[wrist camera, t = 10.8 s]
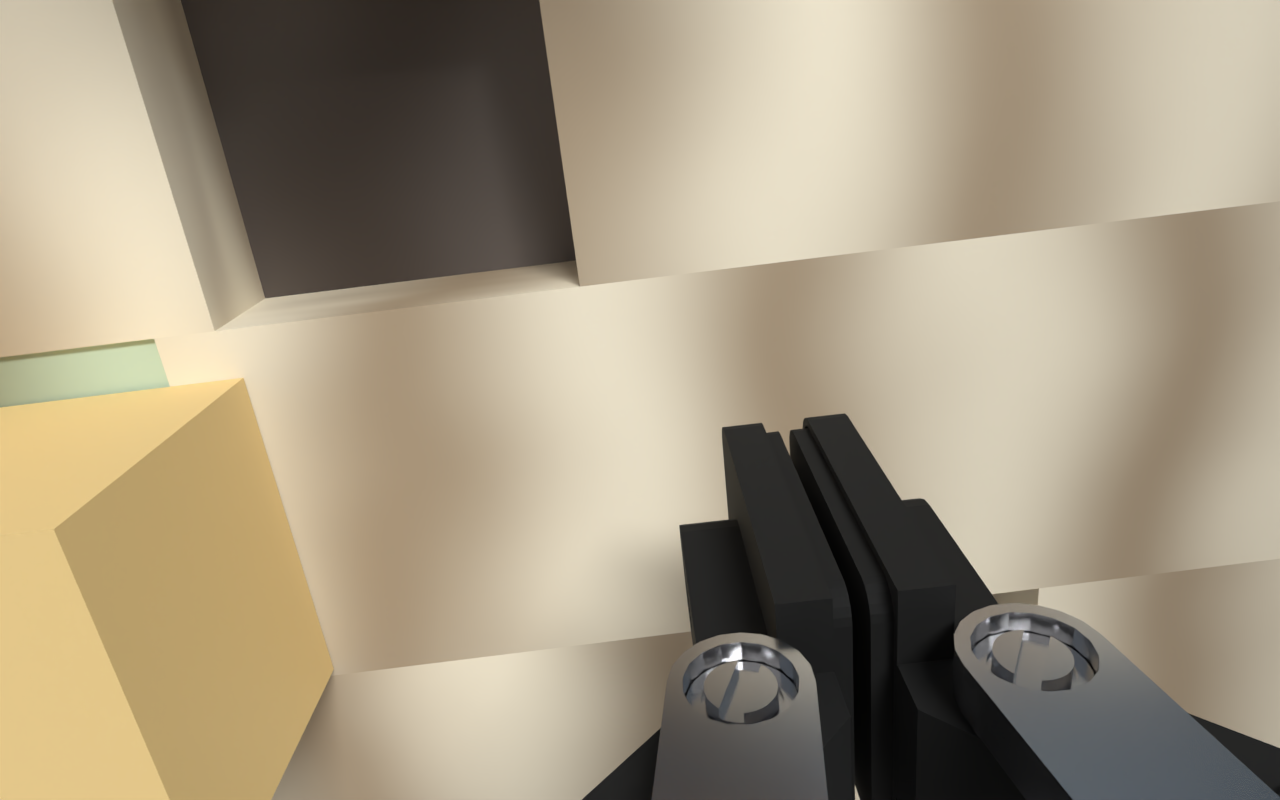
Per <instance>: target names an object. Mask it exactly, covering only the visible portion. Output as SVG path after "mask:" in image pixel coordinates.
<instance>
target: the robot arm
mask: <svg viewBox="0 0 1280 800" xmlns="http://www.w3.org/2000/svg"><path fill="white" fill-rule="evenodd" d="M722 445H723V457H724V470H725V482H726V494H727V507H728V520H719V521H710V522H702V523H693V524H684V525H679V529H680V539H681V549H682V558H683V567H684V576H685V585H686V594H687V603H688V611H689V619H690V628H691V635H692V643H693V646H692V647H691V648H689V649H688V650H686V651H684V652H683V653H682V655H681V656H680V657H679V658H678V659H677V660H676V662H675V663H674V664H673V665H672V667H671V670H670V673H669V676H668V679H667V683H666V690H665V698H664V706H663V714H662V722H661V728H660V729H659V730H658V731H657V732H656V733H654V734H653V735H652V736H651V737H650V738H649V739H648V740H647V741H646V742H645V743H643V744H642V745H641V746H640V747H639V748H638V749H637V750H636V751H635V752H634V753H632V754H631V755H630V756H629V757H628V758H627V759H626V760H625V761H624V762H623V763H621V764H620V765H619V766H618V767H617V768H616V769H615V770H614V771H613V772H612V773H610V774H609V775H608V776H607V777H606V778H605V779H604V780H603V781H602V782H601V783H599V784H598V785H597V786H596V787H595V788H594V789H593V790H592V791H591V792H590V793H588V794H587V795H586V796H585V797H584V798H583V799H582V800H855V786H856V789H857V792H858V795H859V798H860V800H1280V748H1278V747H1276V746H1273V745H1270V744H1268V743H1265V742H1263V741H1260V740H1257V739H1255V738H1252V737H1249V736H1247V735H1244V734H1242V733H1239V732H1236V731H1234V730H1231V729H1228V728H1226V727H1223V726H1221V725H1218V724H1215V723H1213V722H1210V721H1207V720H1205V719H1202V718H1200V717H1197V716H1194V715H1192V714H1189V713H1187V712H1186V711H1185V710H1184V709H1183V708H1182V707H1181V706H1179V705H1178V704H1177V703H1176V702H1175V701H1174V700H1173V699H1172V698H1171V697H1170V696H1168V695H1167V694H1166V693H1165V692H1164V691H1163V690H1162V689H1161V688H1160V687H1159V686H1157V685H1156V684H1155V683H1154V682H1153V681H1152V680H1151V679H1150V678H1149V677H1148V676H1146V675H1145V674H1144V673H1143V672H1142V671H1141V670H1140V669H1139V668H1138V667H1137V666H1136V665H1134V664H1133V663H1132V662H1131V661H1130V660H1129V659H1128V658H1127V657H1126V656H1125V655H1123V654H1122V653H1121V652H1120V651H1119V650H1118V649H1117V648H1116V647H1115V646H1114V645H1112V644H1111V643H1110V642H1109V641H1108V640H1107V639H1106V638H1105V637H1104V636H1103V635H1101V634H1100V633H1099V632H1097V631H1096V630H1095V629H1093V628H1092V627H1090V626H1089V625H1088V624H1086V623H1085V622H1083V621H1082V620H1079V619H1077V618H1075V617H1073V616H1070V615H1068V614H1066V613H1064V612H1062V611H1058V610H1055V609H1051V608H1047V607H1043V606H1039V605H1032V604H1020V603H1007V604H998V602H997V601H996V599H995V598H994V597H993V595H992V594H991V592H990V591H989V589H988V588H987V587H986V585H985V584H984V582H983V581H982V579H981V578H980V576H979V575H978V574H977V572H976V571H975V569H974V568H973V566H972V565H971V564H970V562H969V561H968V559H967V558H966V556H965V555H964V553H963V552H962V551H961V549H960V548H959V546H958V545H957V543H956V542H955V541H954V539H953V538H952V536H951V535H950V533H949V532H948V531H947V529H946V528H945V526H944V525H943V523H942V522H941V520H940V519H939V518H938V516H937V515H936V513H935V512H934V510H933V509H932V508H931V506H930V505H929V504H928V503H927V502H926V501H925V499H921V498H917V499H908V500H901V498H900V497H899V495H898V494H897V492H896V490H895V489H894V487H893V486H892V484H891V483H890V481H889V480H888V478H887V476H886V475H885V473H884V472H883V470H882V469H881V467H880V465H879V464H878V462H877V461H876V459H875V458H874V456H873V455H872V453H871V451H870V450H869V448H868V447H867V445H866V444H865V442H864V441H863V439H862V437H861V436H860V434H859V433H858V431H857V430H856V428H855V427H854V425H853V423H852V422H851V420H850V419H849V417H848V416H847V415H846V414H845V413H843V414H834V415H826V416H817V417H808V418H804V420H803V427H802V429H794V430H790V434H789V446H790V455H789V453H788V450H787V448H786V446H785V444H784V441H783V439H782V437H781V434H780V432H779V431H777V432H768V433H766V431H765V428H764V426H763V424H762V423H755V424H746V425H737V426H728V427H722Z"/></svg>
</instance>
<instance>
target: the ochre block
mask: <svg viewBox="0 0 1280 800" xmlns="http://www.w3.org/2000/svg"><path fill="white" fill-rule="evenodd" d="M333 670H334V668H333V665H332V661H331V658H330V655H329V652H328V649H327V645H326V642H325V639H324V636H323V632H322V629H321V626H320V623H319V620H318V616H317V613H316V610H315V607H314V603H313V600H312V597H311V594H310V591H309V587H308V584H307V581H306V578H305V574H304V571H303V568H302V565H301V562H300V558H299V555H298V552H297V549H296V545H295V542H294V539H293V536H292V533H291V529H290V526H289V523H288V520H287V517H286V513H285V510H284V507H283V504H282V500H281V497H280V494H279V491H278V488H277V484H276V481H275V478H274V475H273V471H272V468H271V465H270V462H269V459H268V455H267V452H266V449H265V446H264V442H263V439H262V436H261V433H260V430H259V426H258V423H257V420H256V417H255V413H254V410H253V407H252V404H251V401H250V397H249V394H248V391H247V388H246V385H245V381H244V378H237V379H229V380H221V381H212V382H204V383H196V384H188V385H180V386H171V387H163V388H155V389H147V390H139V391H131V392H122V393H114V394H106V395H98V396H90V397H82V398H73V399H65V400H57V401H49V402H41V403H33V404H24V405H16V406H8V407H0V800H271V799H272V797H273V795H274V793H275V791H276V789H277V787H278V785H279V783H280V780H281V778H282V776H283V774H284V772H285V770H286V768H287V766H288V764H289V762H290V760H291V758H292V755H293V753H294V751H295V749H296V747H297V745H298V743H299V741H300V739H301V737H302V735H303V732H304V730H305V728H306V726H307V724H308V722H309V720H310V718H311V716H312V714H313V712H314V710H315V707H316V705H317V703H318V701H319V699H320V697H321V695H322V693H323V691H324V689H325V687H326V685H327V682H328V680H329V678H330V676H331V674H332V672H333Z"/></svg>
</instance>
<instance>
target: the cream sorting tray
mask: <svg viewBox="0 0 1280 800" xmlns="http://www.w3.org/2000/svg"><path fill="white" fill-rule="evenodd" d="M237 378H244V381H245V385H246V388H247V391H248V394H249V397H250V401H251V404H252V407H253V410H254V413H255V417H256V420H257V423H258V426H259V430H260V433H261V436H262V439H263V442H264V446H265V449H266V452H267V455H268V459H269V462H270V465H271V468H272V471H273V475H274V478H275V481H276V484H277V488H278V491H279V494H280V497H281V500H282V504H283V507H284V510H285V513H286V517H287V520H288V523H289V526H290V529H291V533H292V536H293V539H294V542H295V545H296V549H297V552H298V555H299V558H300V562H301V565H302V568H303V571H304V574H305V578H306V581H307V584H308V587H309V591H310V594H311V597H312V600H313V603H314V607H315V610H316V613H317V616H318V620H319V623H320V626H321V629H322V632H323V636H324V639H325V642H326V645H327V649H328V652H329V655H330V658H331V661H332V665H333V668H334V670H333V672H332V674H331V676H330V678H329V680H328V682H327V685H326V687H325V689H324V691H323V693H322V695H321V697H320V699H319V701H318V703H317V705H316V707H315V710H314V712H313V714H312V716H311V718H310V720H309V722H308V724H307V726H306V728H305V730H304V732H303V735H302V737H301V739H300V741H299V743H298V745H297V747H296V749H295V751H294V753H293V755H292V758H291V760H290V762H289V764H288V766H287V768H286V770H285V772H284V774H283V776H282V778H281V780H280V783H279V785H278V787H277V789H276V791H275V793H274V795H273V797H272V799H271V800H582V799H583V798H584V797H585V796H586V795H587V794H588V793H590V792H591V791H592V790H593V789H594V788H595V787H596V786H597V785H598V784H599V783H601V782H602V781H603V780H604V779H605V778H606V777H607V776H608V775H609V774H610V773H612V772H613V771H614V770H615V769H616V768H617V767H618V766H619V765H620V764H621V763H623V762H624V761H625V760H626V759H627V758H628V757H629V756H630V755H631V754H632V753H634V752H635V751H636V750H637V749H638V748H639V747H640V746H641V745H642V744H643V743H645V742H646V741H647V740H648V739H649V738H650V737H651V736H652V735H653V734H654V733H656V732H657V731H658V730H659V729H660V728H661V722H662V714H663V706H664V698H665V690H666V683H667V679H668V676H669V673H670V670H671V667H672V665H673V664H674V663H675V662H676V660H677V659H678V658H679V657H680V656H681V655H682V653H683V652H684V651H686V650H688V649H689V648H691V647H692V646H693V643H692V635H691V628H690V619H689V611H688V603H687V594H686V585H685V576H684V567H683V558H682V549H681V539H680V529H679V525H684V524H693V523H702V522H710V521H719V520H728V507H727V494H726V482H725V470H724V457H723V445H722V427H728V426H737V425H746V424H755V423H762V424H763V426H764V428H765V431H766V433H768V432H777V431H779V432H780V434H781V437H782V439H783V441H784V444H785V446H786V448H787V450H788V453H789V455H790V446H789V434H790V430H794V429H802V427H803V420H804V418H808V417H817V416H826V415H834V414H843V413H845V414H846V415H847V416H848V417H849V419H850V420H851V422H852V423H853V425H854V427H855V428H856V430H857V431H858V433H859V434H860V436H861V437H862V439H863V441H864V442H865V444H866V445H867V447H868V448H869V450H870V451H871V453H872V455H873V456H874V458H875V459H876V461H877V462H878V464H879V465H880V467H881V469H882V470H883V472H884V473H885V475H886V476H887V478H888V480H889V481H890V483H891V484H892V486H893V487H894V489H895V490H896V492H897V494H898V495H899V497H900V498H901V500H908V499H917V498H921V499H925V501H926V502H927V503H928V504H929V505H930V506H931V508H932V509H933V510H934V512H935V513H936V515H937V516H938V518H939V519H940V520H941V522H942V523H943V525H944V526H945V528H946V529H947V531H948V532H949V533H950V535H951V536H952V538H953V539H954V541H955V542H956V543H957V545H958V546H959V548H960V549H961V551H962V552H963V553H964V555H965V556H966V558H967V559H968V561H969V562H970V564H971V565H972V566H973V568H974V569H975V571H976V572H977V574H978V575H979V576H980V578H981V579H982V581H983V582H984V584H985V585H986V587H987V588H988V589H989V591H990V592H991V594H992V595H993V597H994V598H995V599H996V601H997V602H998V604H1007V603H1020V604H1032V605H1039V606H1043V607H1047V608H1051V609H1055V610H1058V611H1062V612H1064V613H1066V614H1068V615H1070V616H1073V617H1075V618H1077V619H1079V620H1082V621H1083V622H1085V623H1086V624H1088V625H1089V626H1090V627H1092V628H1093V629H1095V630H1096V631H1097V632H1099V633H1100V634H1101V635H1103V636H1104V637H1105V638H1106V639H1107V640H1108V641H1109V642H1110V643H1111V644H1112V645H1114V646H1115V647H1116V648H1117V649H1118V650H1119V651H1120V652H1121V653H1122V654H1123V655H1125V656H1126V657H1127V658H1128V659H1129V660H1130V661H1131V662H1132V663H1133V664H1134V665H1136V666H1137V667H1138V668H1139V669H1140V670H1141V671H1142V672H1143V673H1144V674H1145V675H1146V676H1148V677H1149V678H1150V679H1151V680H1152V681H1153V682H1154V683H1155V684H1156V685H1157V686H1159V687H1160V688H1161V689H1162V690H1163V691H1164V692H1165V693H1166V694H1167V695H1168V696H1170V697H1171V698H1172V699H1173V700H1174V701H1175V702H1176V703H1177V704H1178V705H1179V706H1181V707H1182V708H1183V709H1184V710H1185V711H1186V712H1187V713H1189V714H1192V715H1194V716H1197V717H1200V718H1202V719H1205V720H1207V721H1210V722H1213V723H1215V724H1218V725H1221V726H1223V727H1226V728H1228V729H1231V730H1234V731H1236V732H1239V733H1242V734H1244V735H1247V736H1249V737H1252V738H1255V739H1257V740H1260V741H1263V742H1265V743H1268V744H1270V745H1273V746H1276V747H1278V748H1280V0H0V407H8V406H16V405H24V404H33V403H41V402H49V401H57V400H65V399H73V398H82V397H90V396H98V395H106V394H114V393H122V392H131V391H139V390H147V389H155V388H163V387H171V386H180V385H188V384H196V383H204V382H212V381H221V380H229V379H237ZM855 800H860V798H859V795H858V792H857V789H856V786H855Z"/></svg>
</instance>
